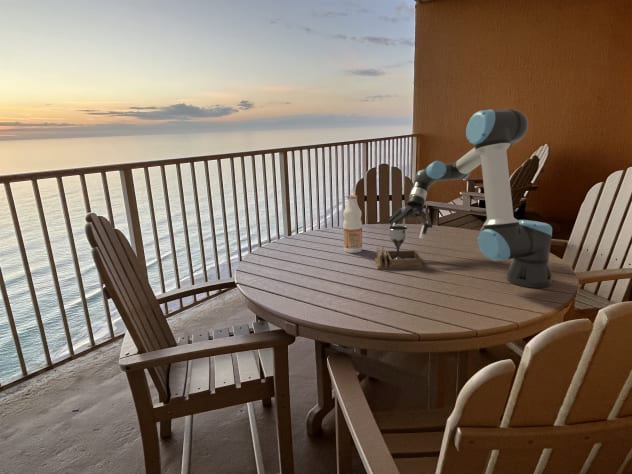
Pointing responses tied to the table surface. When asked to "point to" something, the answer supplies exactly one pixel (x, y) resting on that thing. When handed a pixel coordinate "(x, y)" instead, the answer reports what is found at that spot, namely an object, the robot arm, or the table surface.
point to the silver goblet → (398, 237)
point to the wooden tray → (398, 260)
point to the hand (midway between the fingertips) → (405, 237)
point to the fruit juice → (352, 226)
